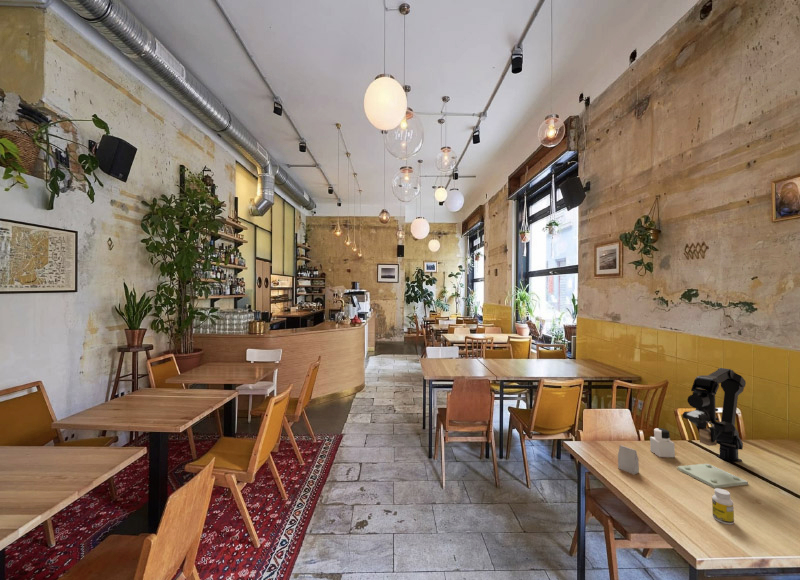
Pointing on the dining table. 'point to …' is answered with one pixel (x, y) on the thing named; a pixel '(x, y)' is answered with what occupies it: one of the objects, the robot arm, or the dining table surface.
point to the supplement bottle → (722, 506)
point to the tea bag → (628, 460)
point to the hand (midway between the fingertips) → (707, 440)
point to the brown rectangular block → (706, 437)
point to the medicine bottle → (662, 443)
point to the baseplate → (712, 475)
